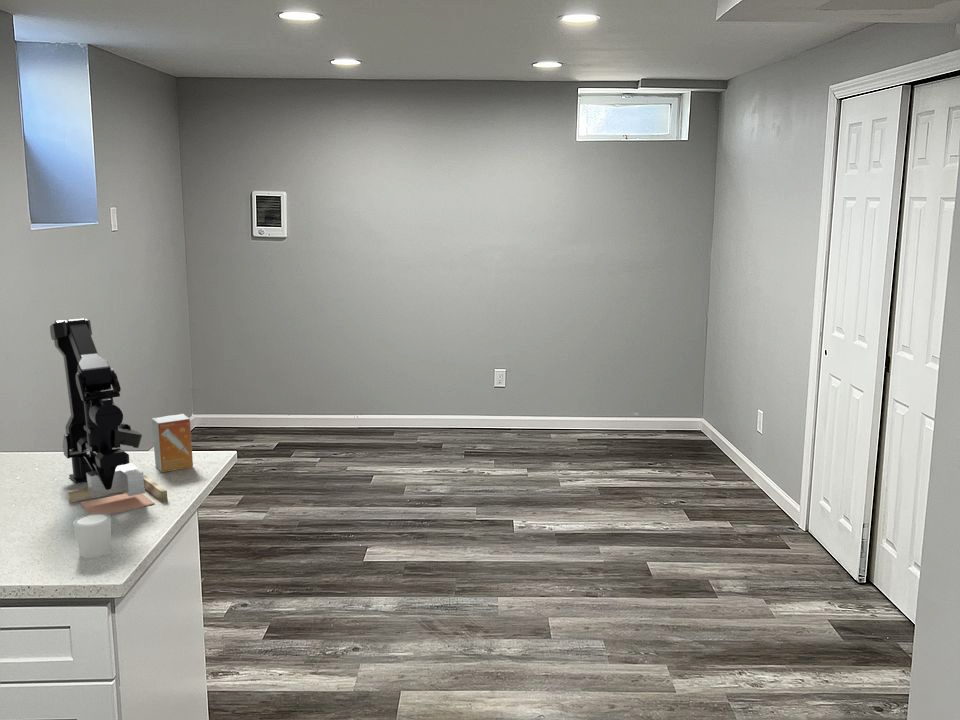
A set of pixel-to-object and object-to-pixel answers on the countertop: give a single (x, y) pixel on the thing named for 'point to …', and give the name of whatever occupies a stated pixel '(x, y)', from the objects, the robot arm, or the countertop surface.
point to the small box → (172, 442)
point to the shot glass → (93, 535)
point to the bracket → (118, 482)
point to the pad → (116, 504)
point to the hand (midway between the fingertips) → (106, 487)
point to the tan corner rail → (148, 485)
